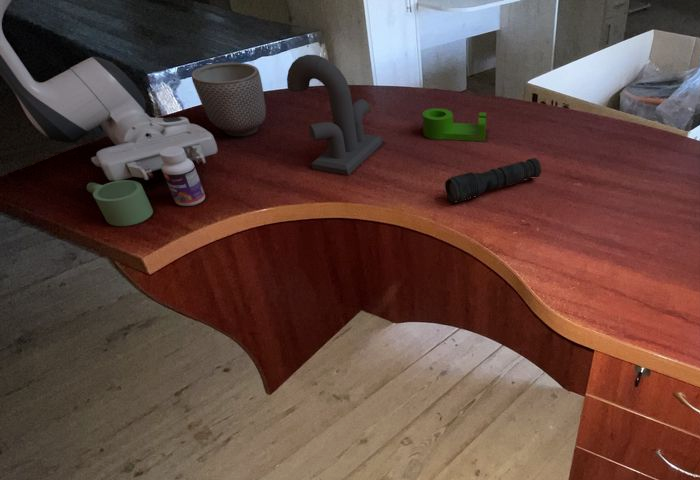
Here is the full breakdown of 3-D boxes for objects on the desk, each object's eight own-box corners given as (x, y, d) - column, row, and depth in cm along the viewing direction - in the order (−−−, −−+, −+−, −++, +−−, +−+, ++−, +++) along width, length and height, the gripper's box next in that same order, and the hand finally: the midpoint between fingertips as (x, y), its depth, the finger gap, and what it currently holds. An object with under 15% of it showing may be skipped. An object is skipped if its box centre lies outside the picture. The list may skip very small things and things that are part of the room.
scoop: (162, 211, 100) (151, 185, 96) (126, 230, 95) (113, 204, 91) (116, 195, 103) (104, 170, 100) (79, 213, 98) (65, 187, 95)
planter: (216, 120, 130) (197, 62, 121) (276, 118, 133) (262, 61, 124) (205, 144, 121) (184, 83, 112) (270, 141, 123) (254, 82, 114)
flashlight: (444, 197, 108) (443, 173, 105) (527, 174, 117) (529, 152, 114) (457, 208, 105) (456, 184, 102) (541, 183, 114) (543, 161, 111)
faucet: (323, 131, 128) (305, 38, 114) (383, 142, 125) (373, 48, 112) (280, 163, 115) (255, 63, 102) (347, 176, 113) (330, 74, 99)
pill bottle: (168, 204, 102) (147, 155, 95) (187, 191, 106) (168, 142, 99) (194, 208, 101) (174, 159, 94) (211, 195, 105) (194, 146, 98)
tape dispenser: (421, 138, 128) (420, 119, 125) (425, 126, 133) (424, 107, 130) (484, 141, 128) (485, 122, 125) (485, 129, 133) (486, 110, 130)
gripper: (79, 141, 98) (105, 167, 91) (192, 114, 109) (223, 136, 102) (96, 173, 103) (122, 201, 96) (203, 144, 113) (233, 167, 107)
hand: (175, 167), depth 99 cm, fingers open, 8 cm apart
